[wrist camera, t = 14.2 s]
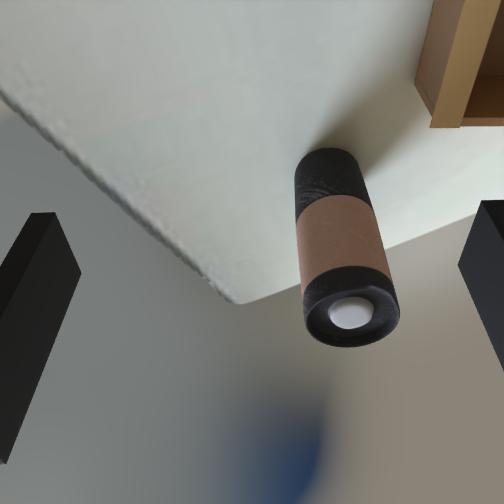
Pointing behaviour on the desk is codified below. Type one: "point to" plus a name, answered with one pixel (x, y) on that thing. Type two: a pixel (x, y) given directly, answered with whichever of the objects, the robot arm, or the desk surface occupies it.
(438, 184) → the desk surface
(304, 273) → the travel mug
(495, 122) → the wooden box
